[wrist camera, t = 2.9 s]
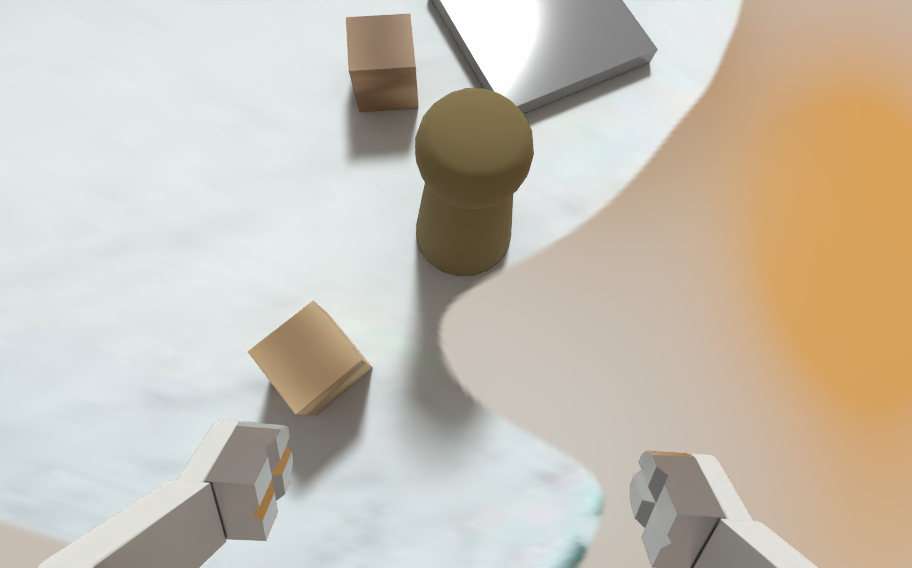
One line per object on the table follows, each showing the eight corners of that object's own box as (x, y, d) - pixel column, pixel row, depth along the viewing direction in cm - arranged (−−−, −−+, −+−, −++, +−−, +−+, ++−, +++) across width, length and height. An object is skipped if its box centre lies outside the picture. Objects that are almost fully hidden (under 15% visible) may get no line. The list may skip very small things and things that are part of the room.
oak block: (316, 414, 26) (295, 414, 22) (275, 361, 27) (247, 351, 23) (373, 367, 27) (361, 359, 23) (331, 316, 28) (313, 300, 24)
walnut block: (360, 113, 31) (348, 71, 28) (357, 64, 33) (345, 17, 29) (418, 108, 32) (415, 66, 28) (413, 60, 33) (410, 13, 29)
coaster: (503, 121, 31) (505, 110, 30) (428, -5, 34) (428, -20, 33) (650, 61, 33) (657, 49, 32) (567, -54, 36) (572, -70, 35)
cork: (399, 211, 29) (376, 97, 19) (481, 172, 30) (504, 43, 20) (443, 293, 28) (446, 218, 17) (528, 249, 29) (579, 154, 18)
